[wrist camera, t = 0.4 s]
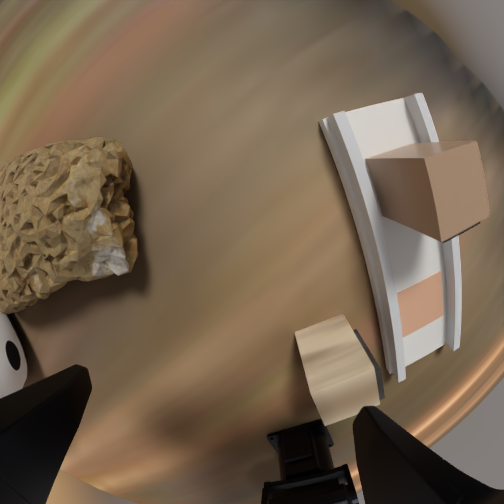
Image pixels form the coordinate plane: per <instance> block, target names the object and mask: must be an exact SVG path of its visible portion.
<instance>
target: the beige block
mask: <svg viewBox="0 0 504 504" xmlns="http://www.w3.org/2000/svg"><path fill="white" fill-rule="evenodd" d="M294 333H295V336H296V340H297V344H298V348H299V351H300V355H301V359H302V363H303V367H304V371H305V374H306V378H307V382H308V386H309V390H310V394H311V396H312V398H313V400H314V403H315V405H316V407H317V409H318V412H319V414H320V416H321V418H322V421H323V423H324V425H325V426H327V425H330V424H332V423H335V422H338V421H341V420H343V419H346V418H348V417H351V416H354V415H356V414H358V413H359V411H360V410H361V408H362V407H363V406H377V405H379V404H380V400H382V399H384V398H385V396H384V388H383V381H382V374H381V369H380V367H379V366H378V364H377V362H376V361H375V359H374V357H373V356H372V354H371V352H370V351H369V349H368V347H367V346H366V344H365V342H364V341H363V339H362V337H361V336H360V334H359V332H358V331H357V329H355V330H352V328H351V326H350V325H349V323H348V321H347V320H346V318H345V316H344V315H343V313H342V314H340V315H337V316H335V317H332V318H330V319H327V320H325V321H322V322H320V323H317V324H315V325H312V326H310V327H307V328H305V329H302V330H299V331H297V332H294Z"/></svg>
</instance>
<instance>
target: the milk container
mask: <svg viewBox="0 0 504 504" xmlns="http://www.w3.org/2000/svg"><path fill="white" fill-rule="evenodd" d="M27 371H28V370H27V359H26V355H25V352H24V349H23V345H22V342H21V338H20V336H19V334H18V332H17V330H16V329H15V326H14V324H13V321H12V319H11V317H10V316H9V314H3V313H1V312H0V398H2V397H5V396H7V395H9V394H11V393H14V392H16V391H18V390H20V389H22V388H23V386H24V383H25V381H26V378H27Z"/></svg>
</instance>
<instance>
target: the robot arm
mask: <svg viewBox="0 0 504 504" xmlns="http://www.w3.org/2000/svg"><path fill="white" fill-rule="evenodd" d="M91 391H92V384H91V380H90V376H89V371H88V369H87V368H86V367H83V366H81V365H77V364H76V365H73V366H71V367H69V368H67V369H65V370H62V371H60V372H58V373H56V374H54V375H52V376H49V377H47V378H45V379H43V380H41V381H38V382H36V383H34V384H32V385H29V386H27V387H25V388H23V389H20V390H18V391H16V392H14V393H11V394H9V395H7V396H5V397H2V398H0V504H46V501H47V498H48V496H49V494H50V491H51V488H52V486H53V483H54V481H55V479H56V476H57V474H58V471H59V469H60V467H61V464H62V462H63V460H64V458H65V455H66V453H67V451H68V449H69V447H70V444H71V442H72V440H73V438H74V436H75V434H76V432H77V429H78V427H79V425H80V422H81V419H82V416H83V413H84V410H85V408H86V405H87V402H88V399H89V396H90V394H91ZM353 435H354V443H355V453H356V461H357V467H358V472H359V476H360V481H361V485H362V490H363V495H364V500H365V504H504V490H499V489H494V488H491V487H489V486H487V485H485V484H483V483H481V482H480V481H478V480H476V479H474V478H472V477H470V476H469V475H467V474H465V473H463V472H462V471H460V470H459V469H457V468H455V467H454V466H453V465H451V464H450V463H448V462H447V461H446V460H443V459H442V457H440V456H439V455H437V454H436V453H435V452H433V451H432V450H431V449H429V448H428V447H427V446H425V445H424V444H423V443H421V442H420V441H419V440H418V439H416V438H415V437H414V436H412V435H411V434H410V433H408V432H407V431H406V430H405V429H403V428H402V427H401V426H399V425H398V424H397V423H396V422H394V421H393V420H392V419H391V418H389V417H388V416H387V415H386V414H384V413H383V412H382V411H381V410H379V409H378V408H377V407H376V406H363V407H362V408H361V410H360V411H359V413H358V415H357V417H356V418H355V420H354V422H353ZM267 440H268V441H269V442H270V443H271V445H272V446H273V447H274V448H275V450H276V451H277V452H278V455H279V465H280V475H281V480H280V481H274V482H264V488H263V491H262V501H261V504H359V502H358V498H357V494H356V490H355V487H354V484H353V481H352V478H351V474H350V471H349V468H348V465H347V464H344V465H342V466H340V467H337V468H334V465H333V461H332V457H331V453H330V449H329V447H332V446H333V445H334V444H333V441H332V438H331V436H330V434H329V432H328V429H327V427H326V426H325V425H324V423H323V421H322V419H320V420H316V421H313V422H310V423H307V424H304V425H300V426H297V427H294V428H290V429H287V430H283V431H279V432H275V433H271V434H268V435H267Z"/></svg>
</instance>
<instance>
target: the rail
mask: <svg viewBox="0 0 504 504" xmlns="http://www.w3.org/2000/svg"><path fill="white" fill-rule="evenodd" d="M319 124H320V126H321V129H322V131H323V134H324V136H325V139H326V141H327V144H328V146H329V149H330V151H331V154H332V157H333V159H334V162H335V165H336V167H337V170H338V173H339V176H340V179H341V182H342V184H343V187H344V190H345V193H346V196H347V199H348V203H349V206H350V209H351V212H352V215H353V219H354V222H355V225H356V229H357V232H358V236H359V239H360V243H361V247H362V250H363V254H364V258H365V262H366V266H367V270H368V274H369V278H370V282H371V287H372V291H373V296H374V300H375V305H376V310H377V315H378V320H379V326H380V331H381V337H382V343H383V349H384V356H385V363H386V369H387V370H388V372H389V374H392V373H393V374H394V376H395V378H396V379H397V381H398V383H399V382H401V381H403V380H405V379H406V372H405V366H407V365H409V364H411V363H413V362H415V361H417V360H418V359H420V358H422V357H424V356H426V355H427V354H429V353H431V352H433V351H434V350H436V349H438V348H439V347H441V346H443V345H444V344H447V345H448V346H449V347H450V348H451V349H452V350H453V351H455V350H456V349H458V348H459V346H460V333H461V311H462V284H461V262H460V249H459V239H458V235H460V234H462V233H464V232H465V231H467V230H469V229H471V228H473V227H474V226H476V225H478V224H480V221H481V220H483V219H485V218H487V217H488V216H490V211H489V202H488V195H487V188H486V182H485V176H484V171H483V166H482V161H481V156H480V152H479V148H478V144H477V141H447V142H439V140H438V136H437V133H436V130H435V127H434V124H433V121H432V118H431V115H430V112H429V109H428V107H427V104H426V101H425V99H424V96H423V94H422V93H418V94H413V95H411V96H408V97H405V98H401V99H397V100H392V101H388V102H384V103H379V104H375V105H371V106H367V107H364V108H360V109H356V110H352V111H349V112H345V111H342V112H338V113H335V114H332V115H331V116H329V117H327V118H325V119H322V120H320V121H319Z"/></svg>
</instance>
